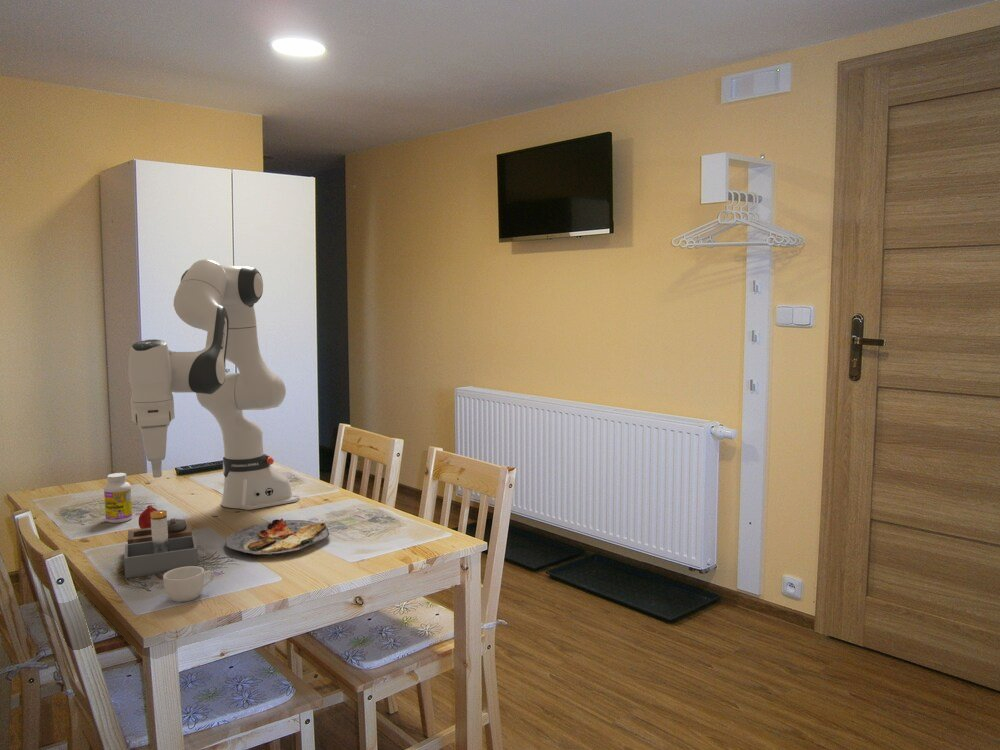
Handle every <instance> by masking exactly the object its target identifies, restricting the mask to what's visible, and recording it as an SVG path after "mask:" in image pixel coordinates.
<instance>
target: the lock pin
mask: <svg viewBox="0 0 1000 750" xmlns="http://www.w3.org/2000/svg"><path fill="white" fill-rule="evenodd" d="M150 516H151V531H152V547H153V554H155V553H162V552H169V542H168V526H167V521H168V511H167V510H164V509H161V510H159V509H157V511H153V512H151V513H150Z"/></svg>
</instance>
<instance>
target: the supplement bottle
mask: <svg viewBox="0 0 1000 750" xmlns="http://www.w3.org/2000/svg"><path fill="white" fill-rule="evenodd" d="M106 477H107V479H106V480H107V482H108V483H107V484H105V485H104V488H103V494H104V495H103V496H104V497H103V498H104V510H105V511H104V513H105V521H106V522H107V523H111V524H120V523H124V522H128V521H130V520H131V519H132V518H133V506H132V502H133V501H132V486H131V483H130V482H128V481H127V473H125V472H116V473H110V474H108V475H107V476H106Z"/></svg>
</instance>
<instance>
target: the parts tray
mask: <svg viewBox="0 0 1000 750" xmlns="http://www.w3.org/2000/svg"><path fill="white" fill-rule="evenodd" d="M196 541H197V540H196V536H195V535H192V536H186V537H178V538H171V539H168V542H169V552H162V553H155V554H153V547H152V541H148V542H140V543H133V544H128V543H126V544H125V545H124V552H123V553H124V556H123V563H124V566H123V567H124V578H125V579H129V578H135V577H136V578H137V577H143V576H150V575H157V574H158V575H159V574H165V573H166V572H168V571H170V570H172V569H176V568H180V567H186V566H198V567H199V555H198V546H197V542H196Z"/></svg>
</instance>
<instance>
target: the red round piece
mask: <svg viewBox="0 0 1000 750" xmlns="http://www.w3.org/2000/svg"><path fill="white" fill-rule="evenodd" d="M157 510H158V509H157V508H154V506H153V505H151V504H148V505H147V506H146V508H145V509H144V510H143V511H142V512H141V513H140V514H139V517H138V526H139V529H144V528H151V516H150V513H151V512H153V511H157Z"/></svg>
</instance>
